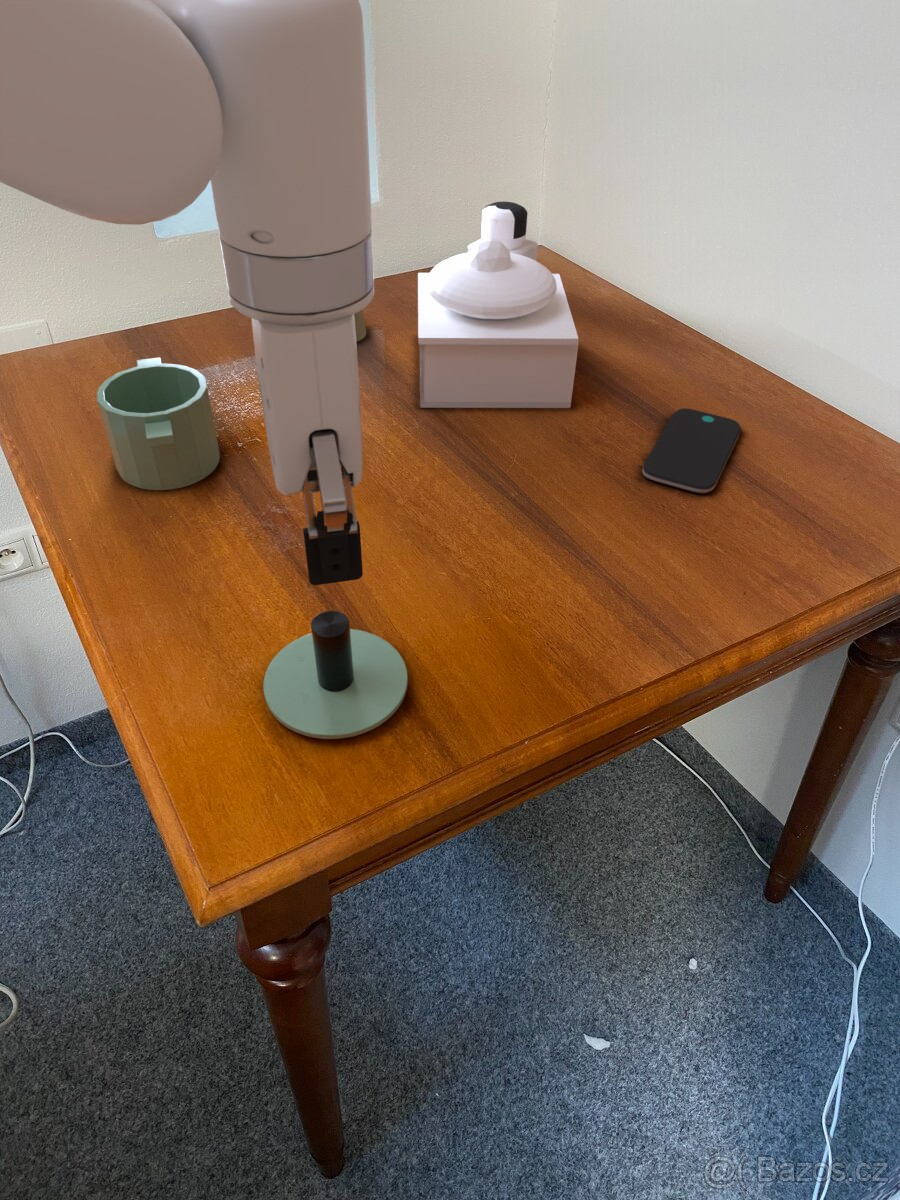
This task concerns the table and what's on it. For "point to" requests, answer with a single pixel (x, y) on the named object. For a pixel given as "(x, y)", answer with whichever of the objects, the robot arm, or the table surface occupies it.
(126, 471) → the pot
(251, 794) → the table surface
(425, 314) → the white box
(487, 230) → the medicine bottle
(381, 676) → the pot lid
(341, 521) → the robot arm
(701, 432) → the smartphone
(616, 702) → the table surface
